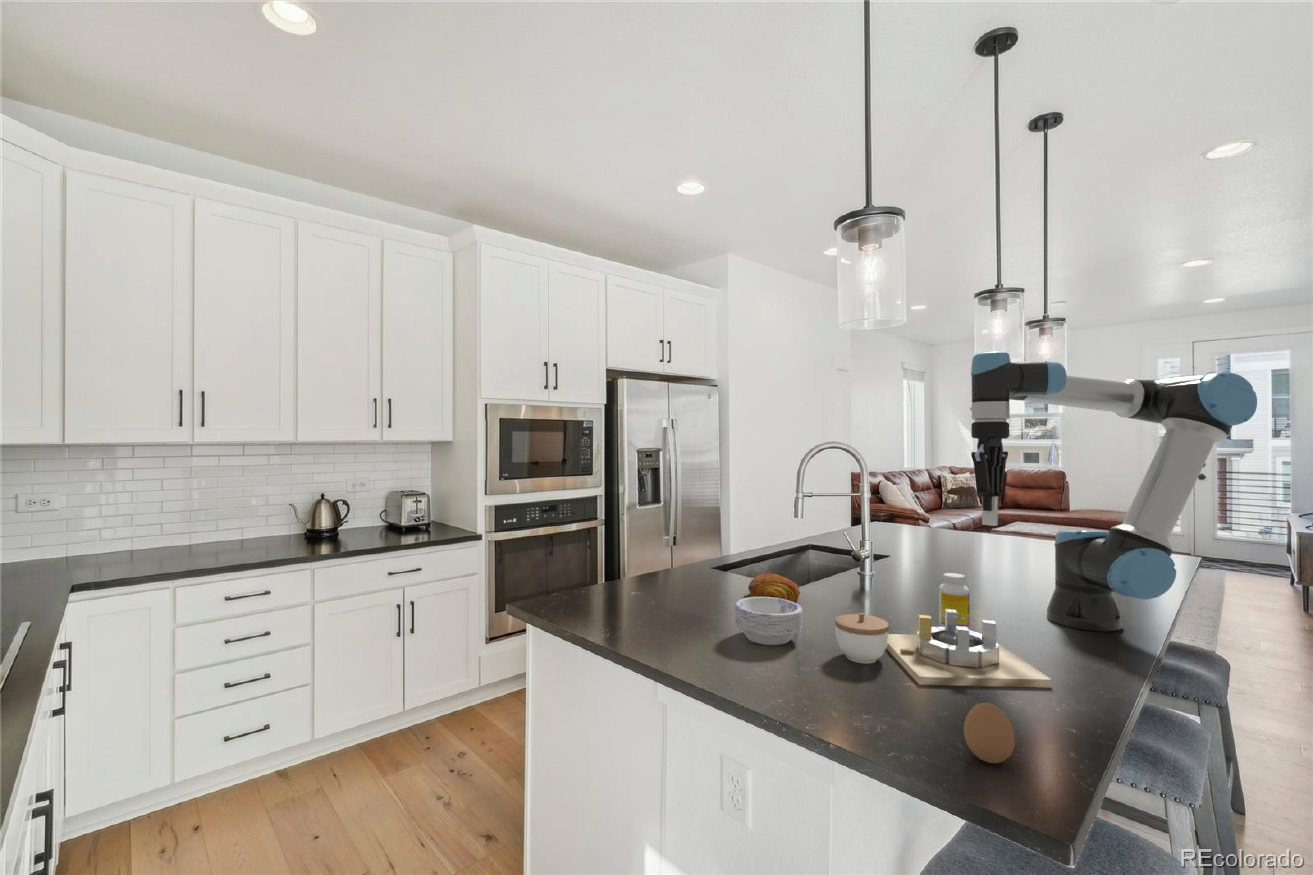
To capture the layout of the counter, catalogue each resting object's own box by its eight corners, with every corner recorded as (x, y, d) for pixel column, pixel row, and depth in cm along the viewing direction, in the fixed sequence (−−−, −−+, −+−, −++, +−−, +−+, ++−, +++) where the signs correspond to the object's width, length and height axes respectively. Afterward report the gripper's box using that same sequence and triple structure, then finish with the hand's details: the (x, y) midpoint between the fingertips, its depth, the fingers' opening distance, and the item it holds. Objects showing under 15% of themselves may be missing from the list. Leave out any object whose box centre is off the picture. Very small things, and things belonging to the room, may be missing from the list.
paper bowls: (814, 638, 138) (814, 603, 138) (779, 656, 126) (779, 618, 126) (758, 623, 148) (758, 592, 148) (721, 639, 137) (721, 604, 137)
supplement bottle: (973, 633, 141) (973, 579, 141) (943, 631, 142) (943, 577, 142) (964, 624, 147) (964, 572, 147) (935, 622, 149) (935, 571, 148)
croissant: (747, 612, 165) (747, 585, 163) (749, 590, 180) (748, 565, 179) (801, 614, 162) (801, 586, 161) (798, 591, 177) (797, 565, 176)
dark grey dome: (965, 649, 126) (965, 632, 126) (979, 660, 120) (980, 643, 120) (934, 648, 127) (934, 632, 127) (947, 660, 120) (947, 642, 120)
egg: (1009, 779, 81) (1009, 719, 81) (958, 761, 86) (958, 704, 86) (1019, 759, 86) (1019, 703, 86) (970, 744, 90) (970, 690, 90)
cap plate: (987, 642, 134) (987, 632, 134) (1051, 687, 111) (1051, 675, 110) (878, 640, 136) (878, 630, 136) (919, 684, 112) (919, 672, 112)
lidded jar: (862, 672, 118) (862, 624, 118) (824, 654, 128) (824, 610, 127) (900, 662, 123) (900, 616, 123) (860, 645, 132) (860, 603, 132)
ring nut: (914, 637, 132) (914, 606, 132) (987, 644, 128) (987, 612, 128) (923, 662, 118) (923, 626, 118) (1005, 670, 114) (1005, 633, 114)
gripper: (986, 421, 142) (986, 520, 142) (959, 421, 134) (959, 525, 134) (1020, 421, 136) (1020, 524, 136) (994, 420, 128) (994, 529, 128)
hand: (989, 524), depth 135 cm, fingers closed
